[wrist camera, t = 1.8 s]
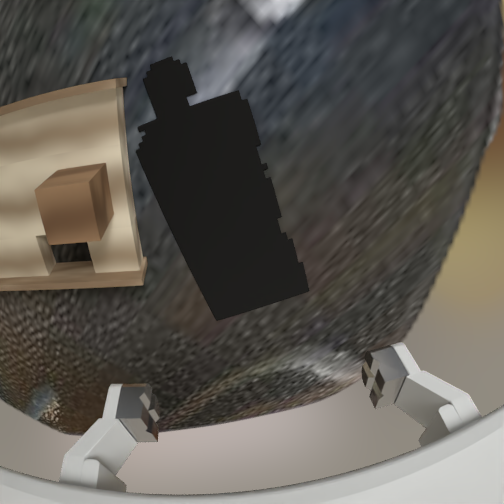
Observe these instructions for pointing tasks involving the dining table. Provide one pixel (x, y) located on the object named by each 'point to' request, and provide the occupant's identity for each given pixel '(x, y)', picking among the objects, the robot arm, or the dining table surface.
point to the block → (75, 204)
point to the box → (48, 162)
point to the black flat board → (217, 194)
